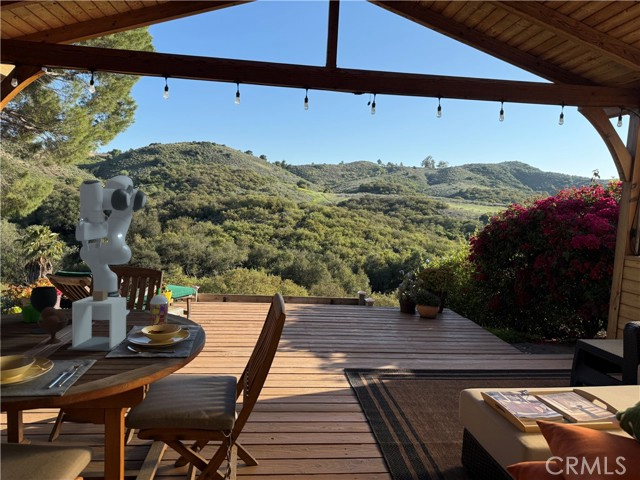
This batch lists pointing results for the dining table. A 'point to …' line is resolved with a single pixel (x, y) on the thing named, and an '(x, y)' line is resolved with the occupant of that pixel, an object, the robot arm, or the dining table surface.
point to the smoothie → (159, 309)
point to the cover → (84, 317)
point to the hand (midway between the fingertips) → (92, 249)
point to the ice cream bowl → (52, 323)
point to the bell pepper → (30, 313)
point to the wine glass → (42, 301)
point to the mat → (94, 344)
